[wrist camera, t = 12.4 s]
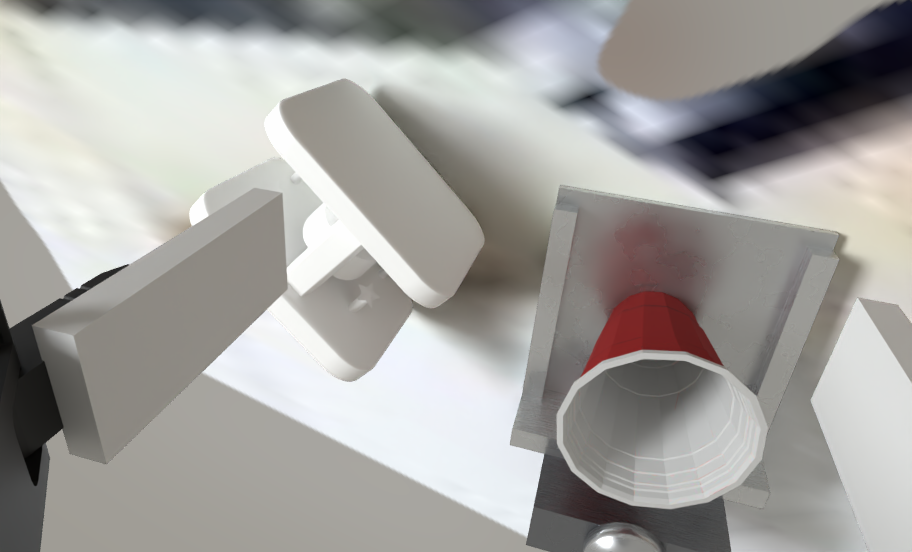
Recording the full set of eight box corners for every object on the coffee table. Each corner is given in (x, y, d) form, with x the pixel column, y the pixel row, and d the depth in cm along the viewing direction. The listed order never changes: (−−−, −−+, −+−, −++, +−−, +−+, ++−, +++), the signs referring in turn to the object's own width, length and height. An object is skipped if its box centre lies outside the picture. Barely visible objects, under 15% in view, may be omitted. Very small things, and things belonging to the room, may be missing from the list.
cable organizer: (502, 238, 44) (460, 317, 34) (402, 312, 49) (339, 400, 39) (359, 70, 42) (268, 101, 32) (268, 166, 47) (165, 219, 37)
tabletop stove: (560, 185, 41) (531, 258, 31) (836, 231, 38) (911, 331, 27) (516, 436, 51) (483, 556, 41) (732, 490, 48) (758, 636, 37)
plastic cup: (668, 418, 46) (676, 548, 36) (546, 339, 46) (517, 446, 35) (775, 316, 41) (821, 435, 30) (637, 226, 41) (635, 314, 30)
